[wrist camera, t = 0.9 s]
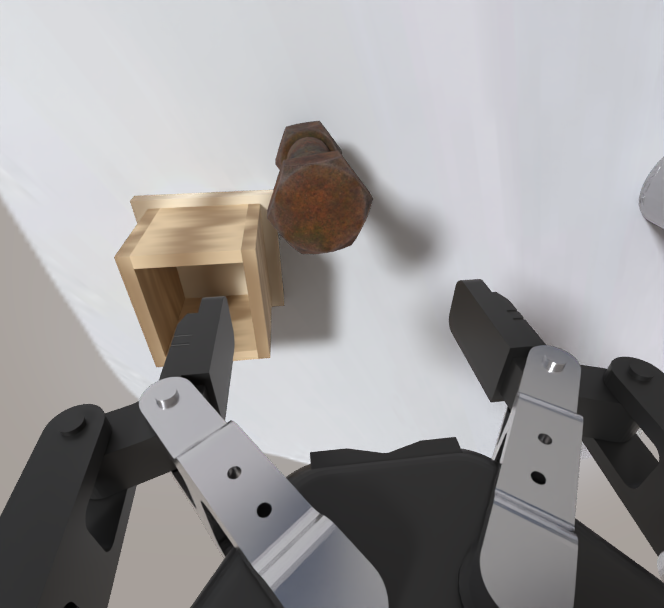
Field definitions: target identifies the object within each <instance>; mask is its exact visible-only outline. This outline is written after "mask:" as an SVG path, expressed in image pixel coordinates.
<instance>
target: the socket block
mask: <svg viewBox="0 0 664 608" xmlns="http://www.w3.org/2000/svg"><path fill="white" fill-rule="evenodd" d="M272 193H273V190H257V191H234V192H212V193H189V194H167V195H144V196H134V197H133V198H132V199H131V201H130V203H131V206H132V209H133V212H134V215H135V218H136V221H137V225H136V227H135V228H134V229H133V231H132V232H131V234H130V235H129V237H128V238H127V239H126V241H125V242H124V244H123V245H122V247H121V248H120V250H119V251H118V252H117V254H116V255H115V257H114V258H115V261H116V264H117V266H118V269H119V271H120V274H121V277H122V279H123V282H124V284H125V287H126V290H127V292H128V295H129V297H130V300H131V303H132V305H133V308H134V310H135V313H136V316H137V318H138V321H139V323H140V326H141V329H142V331H143V334H144V336H145V339H146V342H147V344H148V347H149V349H150V352H151V355H152V357H153V360H154V362H155V365H156V367H163V366H164V363H165V360H166V357H167V354H168V351H169V348H170V347H171V342H172V339H173V337H174V333H175V330H176V327H177V324H178V323H179V322H180V321H181V320H182V319H183V318H184V317H185V315H186V314H188V313H198V311H199V307H200V303H201V300H202V298H204V297H218V296H226V298H227V302H228V306H229V311H230V316H231V321H232V326H233V331H234V340H235V347H234V356H233V361H237V360H249V359H262V358H270V346H271V307H273V306H284V292H283V282H282V272H281V261H280V251H279V241H278V231H277V230H276V229H275V228H274V227H273V225H272V224H271V223H270V222H269V220H268V219H267V209H268V206H269V203H270V199H271V196H272Z"/></svg>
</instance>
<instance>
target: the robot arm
mask: <svg viewBox="0 0 664 608" xmlns="http://www.w3.org/2000/svg"><path fill="white" fill-rule="evenodd" d="M639 207H640V211H641V213H642V215H643V216H644V218H645V219H647V220H648V221H650V222H652V223H654V224H655V225H657V226H659V227H661V228H663V229H664V157H663V158H662V159H661V160H660V161H659V162H658V163H657V164H656V165H655V167H654V168H653V169H652V171H651V172H650V174H649V175H648V177H647V178H646V180H645V182H644V184H643V187H642V189H641V193H640V197H639ZM449 325H450V330H451V332H452V334H453V336H454V338H455V339H456V341H457V343H458V345H459V347H460V348H461V350H462V352H463V354H464V356H465V357H466V359H467V361H468V363H469V364H470V366H471V368H472V370H473V372H474V373H475V375H476V377H477V379H478V381H479V382H480V384H481V386H482V388H483V389H484V391H485V393H486V395H487V397H488V398H489V400H490V402H499V401H505V402H506V404H507V408H506V411H505V414H504V417H503V421H502V424H501V428H500V431H499V435H498V438H497V442H496V445H495V448H494V452H493V455H492V458H489V457H487V456H485V455H482V454H480V453H477V452H474V451H470V450H466V449H461V448H460V446H459V443H458V441H457V439H456V437H451V438H441V439H432V440H422V441H419V442H416V443H413V444H411V445H408V446H405V447H403V448H400V449H397V450H395V451H392V452H389V453H378V452H370V451H362V450H355V449H337V450H328V451H318V452H310V459H311V464H309V465H306V466H304V467H302V468H300V469H298V470H296V471H294V472H293V473H291V474H290V475H288V476H287V477H285V476H284V475H283V474H282V473H281V472H280V471H279V470H278V469H277V467H275V465H274V464H273V463H272V462H271V461H270V460H269V459H268V457H267V456H266V455H265V454H264V453H263V452H262V451H261V450H260V449H259V447H258V446H257V445H256V444H255V443H254V442H253V441H252V440H251V439H250V438H249V436H248V435H247V434H246V433H245V432H244V431H243V430H242V429H241V428H240V427H239V425H238V424H236V423H235V422H234V421H229V422H228V423H227V422H226V421H225V417H226V409H227V402H228V394H229V386H230V379H231V371H232V364H233V356H234V347H235V340H234V331H233V326H232V321H231V316H230V311H229V306H228V302H227V298H226V296H218V297H204V298H202V300H201V303H200V307H199V311H198V313H188V314H186V315H185V317H184V318H183V319H182V320H181V321H180V322H179V323H178V324H177V327H176V330H175V333H174V337H173V339H172V342H171V347H170V348H169V351H168V354H167V357H166V360H165V363H164V366H163V369H162V373H161V376H160V379H159V381H157V382H155V383H154V384H152V385H151V386H149V387H148V388H147V389H146V390H145V391H144V392H143V394H142V395H141V397H140V400H139V401H138V402H136V403H134V404H132V405H129V406H126V407H123V408H121V409H117V410H114V411H111V412H108V413H104V411H103V410H102V409H101V408H100V407H98V406H97V405H93V404H83V405H78V406H74V407H72V408H69V409H67V410H65V411H63V412H61V413H60V414H58V415H57V416H56V417H54V418H53V419H52V420H51V421H50V422H49V423H48V424H47V426H46V427H45V429H44V430H43V432H42V434H41V436H40V438H39V440H38V442H37V444H36V446H35V448H34V450H33V452H32V454H31V456H30V458H29V460H28V462H27V464H26V466H25V468H24V470H23V472H22V474H21V476H20V478H19V480H18V482H17V484H16V486H15V488H14V490H13V492H12V494H11V497H10V498H9V500H8V502H7V504H6V506H5V508H4V510H3V512H2V514H1V516H0V608H107V607H108V603H109V599H110V594H111V590H112V586H113V582H114V578H115V573H116V569H117V565H118V561H119V557H120V552H121V548H122V544H123V540H124V536H125V531H126V527H127V523H128V519H129V515H130V511H131V507H132V502H133V498H134V494H135V490H136V486H137V485H138V484H140V483H143V482H145V481H148V480H150V479H153V478H155V477H158V476H160V475H163V474H165V473H167V472H170V474H171V475H172V476H173V478H174V480H175V481H176V483H177V484H178V486H179V487H180V489H181V490H182V492H183V493H184V495H185V496H186V498H187V499H188V501H189V502H190V504H191V506H192V507H193V509H194V510H195V512H196V513H197V515H198V516H199V518H200V520H201V521H202V523H203V525H204V527H205V529H206V530H207V532H208V534H209V535H210V537H211V539H212V541H213V542H214V544H215V545H216V547H217V549H218V550H219V552H220V553H221V555H222V556H223V558H224V560H223V562H222V563H221V564H220V566H219V567H218V569H217V570H216V572H215V573H214V575H213V576H212V577H211V579H210V580H209V582H208V583H207V584H206V586H205V587H204V589H203V590H202V592H201V593H200V594H199V596H198V597H197V599H196V600H195V602H194V603H193V605H192V606H191V607H190V608H664V373H663V372H662V371H660V370H659V369H658V368H656V367H655V366H653V365H652V364H650V363H648V362H645V361H643V360H640V359H637V358H632V357H618V358H615V359H614V360H613V361H612V362H611V364H610V365H609V367H608V369H605V368H598V367H591V366H585V365H580V364H579V362H578V361H577V359H576V358H575V357H574V356H572V355H571V354H570V353H568V352H566V351H565V350H562V349H560V348H557V347H554V346H548V345H546V344H545V343H544V342H543V341H542V339H541V338H540V337H539V336H538V335H537V333H536V332H535V331H534V330H533V329H532V327H531V326H530V325H529V324H528V323H527V321H526V320H524V319H523V317H522V315H521V314H520V313H519V312H517V309H516V308H515V307H514V306H513V304H512V303H511V302H510V301H509V300H508V299H506V298H505V297H503V296H502V295H500V294H499V293H497V292H491V290H490V289H489V288H488V287H487V285H486V284H485V283H484V282H483V280H481V279H474V280H460V281H458V282H457V284H456V287H455V291H454V296H453V301H452V305H451V310H450V314H449ZM639 428H641V429H642V430H643V431H644V433H645V434H646V435H647V436H648V437H649V439H650V440H651V441H652V442H653V443H654V445H655V446H656V448H657V450H658V453H659V462H658V461H657V459H656V458H655V457H654V456H653V455H652V453H651V452H650V451H649V450H648V448H647V447H646V446H645V444H644V443H643V442H642V441H641V439H640V438H639V437H638V436H637V434H636V432H637V430H638V429H639ZM582 441H583V443H584V444H585V446H586V447H587V449H588V450H589V452H590V454H591V455H592V457H593V458H594V460H595V461H596V463H597V464H598V466H599V467H600V469H601V470H602V472H603V473H604V475H605V476H606V478H607V479H608V481H609V482H610V484H611V486H612V487H613V489H614V490H615V492H616V493H617V495H618V496H619V498H620V499H621V501H622V502H623V504H624V505H625V507H626V508H627V510H628V511H629V513H630V514H631V516H632V517H633V519H634V520H635V522H636V524H637V525H638V526H639V528H640V530H641V531H642V533H643V534H644V535H645V537H646V539H647V540H648V542H649V543H650V545H651V546H652V548H653V550H654V551H655V553H656V554H657V556H658V561H657V567H658V571H659V574H660V577H661V579H662V581H663V582H662V581H661V580H659V579H658V578H657V577H655V576H654V575H653V574H651V573H649V572H648V571H647V570H646V569H644V568H643V567H642V566H640V565H639V564H637V563H636V562H635V561H633V560H632V559H630V558H629V557H628V556H626V555H625V554H624V553H622V552H621V551H619V550H618V549H617V548H615V547H614V546H612V545H611V544H610V543H608V542H607V541H606V540H604V539H603V538H602V537H600V536H599V535H598V534H596V533H595V532H593V531H592V530H591V529H589V528H588V527H586V526H585V525H584V524H582V523H581V522H579V521H578V520H577V519H575V512H576V500H577V490H578V478H579V466H580V455H581V443H582Z"/></svg>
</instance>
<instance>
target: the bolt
mask: <svg viewBox="0 0 664 608" xmlns="http://www.w3.org/2000/svg"><path fill="white" fill-rule="evenodd" d="M341 154H342V151H341V149H340V148H339V146H338V145H337V143H336V142H335V141H334V139H333V138H332V137H331V135H330V134H329V132H328V131H327V130H326V129H325V127H324V126H323V125H322V123H321V122H320V121H313V122H306V123H300V124H295V125H291V126H287V127H286V128H285V131H284V134H283V137H282V140H281V143H280V146H279V149H278V153H277V157H276V166H277V167H278V168H279V170H280V171H279V174H278V177H277V181H276V184H275V187H274V190H273V193H272V196H271V199H270V203H269V206H268V209H267V219H268V220H269V222H270V223H271V224H272V225H273V227H274V228H275V229H276V230H277V231H278V232H279V233H280V235H281V236H282V237H283V238H284V239H285V240H286V241H287V242H288V243H289V244H290V245H291V246H292V247H293V248H295V249H296V250H297V251H299V252H300V253H301V254H321V253H328V252H334V251H337V250H340V249H343V248H345V247H348V246H350V245H352V244H353V242H354V241H355V239H356V238H357V236H358V234H359V233H360V231H361V229H362V227H363V225H364V223H365V221H366V218H367V216H368V213H369V210H370V207H371V204H372V201H373V198H372V196H371V194H370V192H369V191H368V190H367V188H366V187H365V186H364V184H363V183H362V182H361V180H360V179H359V178H358V176H357V175H356V174H355V172H354V171H353V170H352V168H351V167H350V166H349V164H348V163H347V162H346V160H345V159H344V157H343V156H342V155H341Z"/></svg>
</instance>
